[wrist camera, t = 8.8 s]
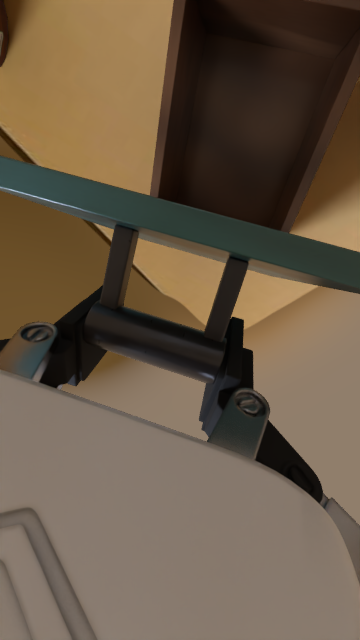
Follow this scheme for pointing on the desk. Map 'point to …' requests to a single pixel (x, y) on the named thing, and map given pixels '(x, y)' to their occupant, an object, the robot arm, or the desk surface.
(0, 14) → the food container
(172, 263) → the desk surface
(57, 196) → the sorter lid
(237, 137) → the box
